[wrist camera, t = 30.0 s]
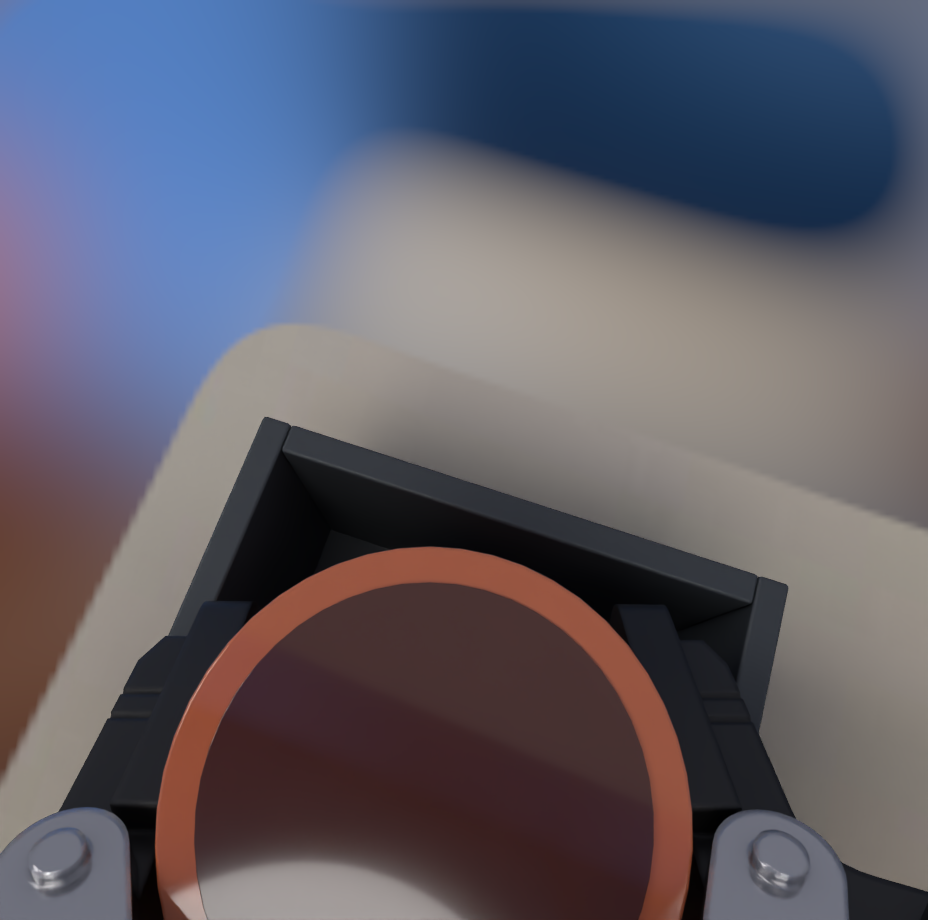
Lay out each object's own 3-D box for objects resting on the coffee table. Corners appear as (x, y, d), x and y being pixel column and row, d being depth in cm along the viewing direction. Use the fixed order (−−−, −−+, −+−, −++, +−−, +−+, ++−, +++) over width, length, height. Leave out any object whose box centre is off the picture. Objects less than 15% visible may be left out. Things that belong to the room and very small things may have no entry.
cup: (294, 915, 14) (115, 1140, 7) (312, 625, 16) (183, 541, 8) (579, 916, 15) (720, 1140, 7) (569, 626, 16) (675, 546, 8)
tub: (167, 899, 17) (3, 1007, 11) (322, 509, 20) (263, 414, 13) (574, 1055, 16) (652, 1264, 10) (678, 627, 19) (790, 584, 13)
